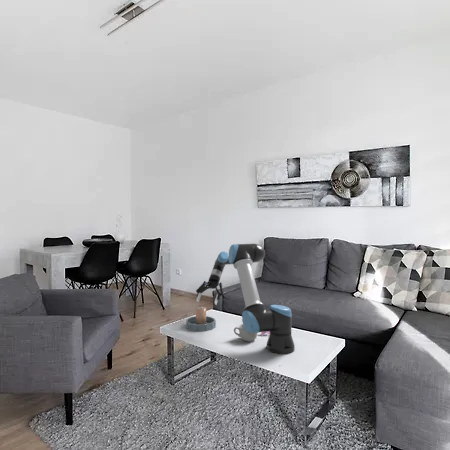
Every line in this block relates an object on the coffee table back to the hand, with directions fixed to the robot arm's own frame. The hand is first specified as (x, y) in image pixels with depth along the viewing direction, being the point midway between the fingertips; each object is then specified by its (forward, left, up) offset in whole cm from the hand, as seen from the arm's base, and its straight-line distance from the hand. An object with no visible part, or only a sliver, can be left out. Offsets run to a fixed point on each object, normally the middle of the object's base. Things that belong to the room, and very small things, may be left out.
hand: (206, 302), depth 232 cm
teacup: (-35, +19, -14) cm, 43 cm away
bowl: (0, +8, -14) cm, 16 cm away
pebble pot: (0, +8, -13) cm, 15 cm away
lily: (-44, +6, -14) cm, 46 cm away
